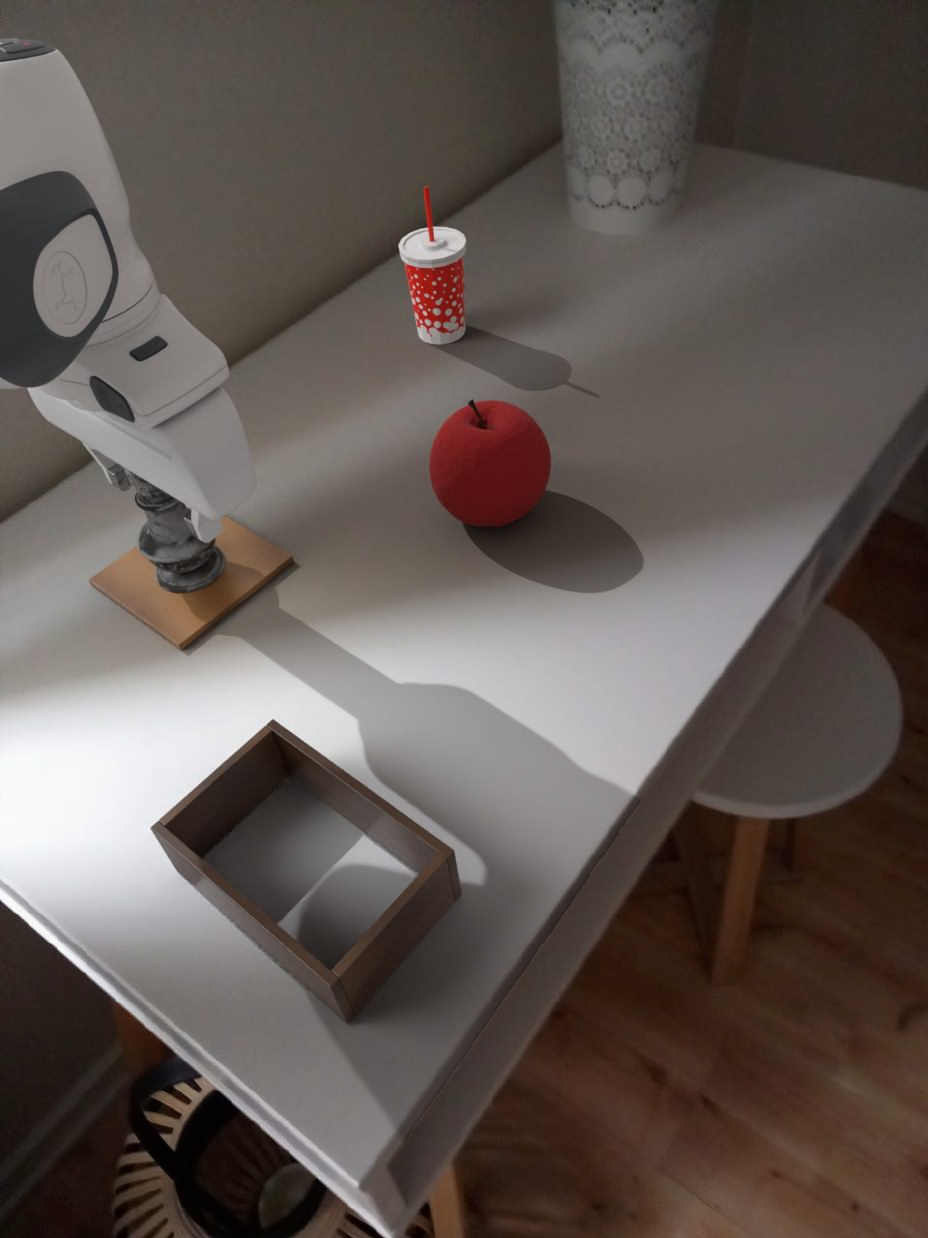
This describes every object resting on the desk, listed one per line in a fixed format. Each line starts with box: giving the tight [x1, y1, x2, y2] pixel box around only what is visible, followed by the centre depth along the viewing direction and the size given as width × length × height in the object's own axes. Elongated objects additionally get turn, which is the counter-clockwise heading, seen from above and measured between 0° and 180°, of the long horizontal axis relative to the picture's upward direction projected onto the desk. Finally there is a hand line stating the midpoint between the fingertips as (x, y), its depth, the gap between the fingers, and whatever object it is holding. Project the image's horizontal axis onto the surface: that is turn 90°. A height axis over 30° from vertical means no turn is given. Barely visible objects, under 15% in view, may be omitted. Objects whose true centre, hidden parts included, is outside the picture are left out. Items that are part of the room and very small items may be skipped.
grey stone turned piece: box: [128, 470, 225, 593], centre depth 69 cm, size 6×6×12 cm
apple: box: [428, 398, 552, 528], centre depth 72 cm, size 9×9×10 cm
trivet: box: [88, 515, 294, 651], centre depth 74 cm, size 11×11×1 cm
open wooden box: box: [150, 718, 463, 1025], centre depth 54 cm, size 9×14×5 cm, turn 50°
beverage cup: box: [397, 185, 467, 346], centre depth 89 cm, size 6×6×14 cm
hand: (165, 508), depth 69 cm, fingers open, 8 cm apart
